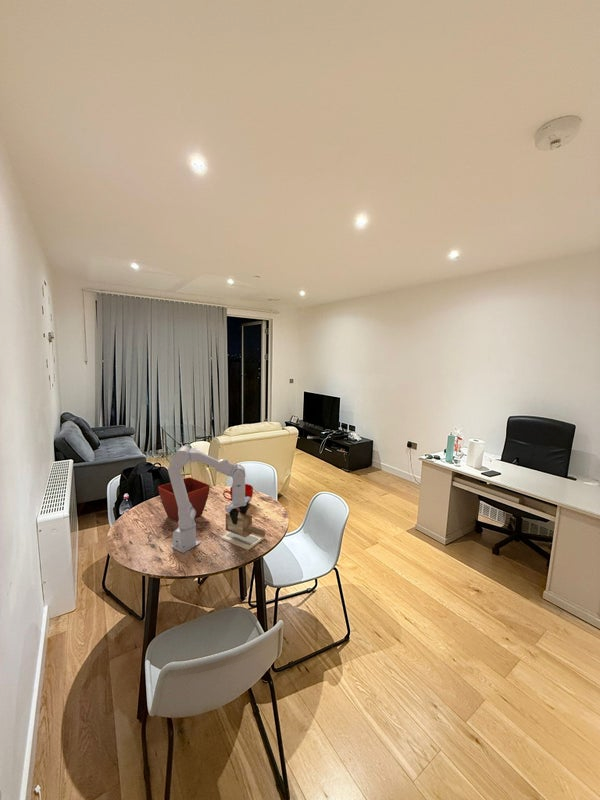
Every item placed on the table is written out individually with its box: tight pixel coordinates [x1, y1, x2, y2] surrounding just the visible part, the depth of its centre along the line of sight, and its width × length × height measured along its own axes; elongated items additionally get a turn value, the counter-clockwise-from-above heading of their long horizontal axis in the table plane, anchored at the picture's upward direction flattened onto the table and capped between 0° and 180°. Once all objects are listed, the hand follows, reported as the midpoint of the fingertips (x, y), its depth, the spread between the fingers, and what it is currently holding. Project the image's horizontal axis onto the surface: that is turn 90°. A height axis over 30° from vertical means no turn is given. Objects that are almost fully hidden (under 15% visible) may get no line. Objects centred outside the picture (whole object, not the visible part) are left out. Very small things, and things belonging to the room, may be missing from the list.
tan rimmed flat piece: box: [221, 524, 266, 551], centre depth 150 cm, size 12×16×4 cm
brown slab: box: [225, 511, 253, 538], centre depth 147 cm, size 5×12×8 cm, turn 58°
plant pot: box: [157, 476, 211, 523], centre depth 169 cm, size 19×19×17 cm
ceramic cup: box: [222, 483, 254, 504], centre depth 186 cm, size 13×17×10 cm
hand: (238, 521), depth 147 cm, fingers closed on brown slab, 4 cm apart
